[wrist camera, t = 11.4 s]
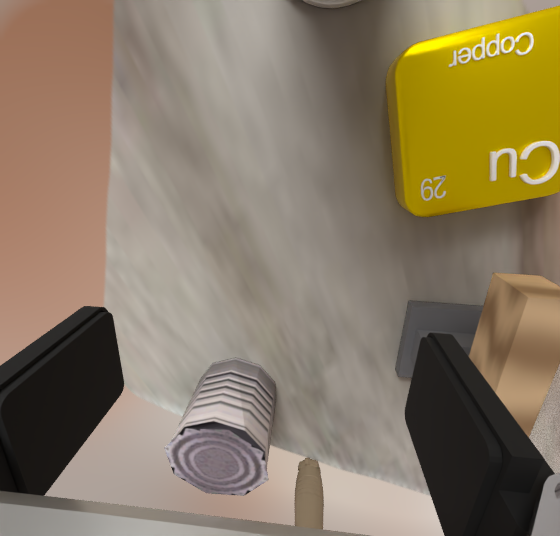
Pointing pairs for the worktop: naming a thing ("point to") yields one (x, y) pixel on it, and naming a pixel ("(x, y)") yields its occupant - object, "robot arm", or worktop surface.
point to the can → (226, 430)
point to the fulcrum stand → (435, 329)
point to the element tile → (477, 116)
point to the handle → (309, 495)
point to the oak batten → (519, 342)
